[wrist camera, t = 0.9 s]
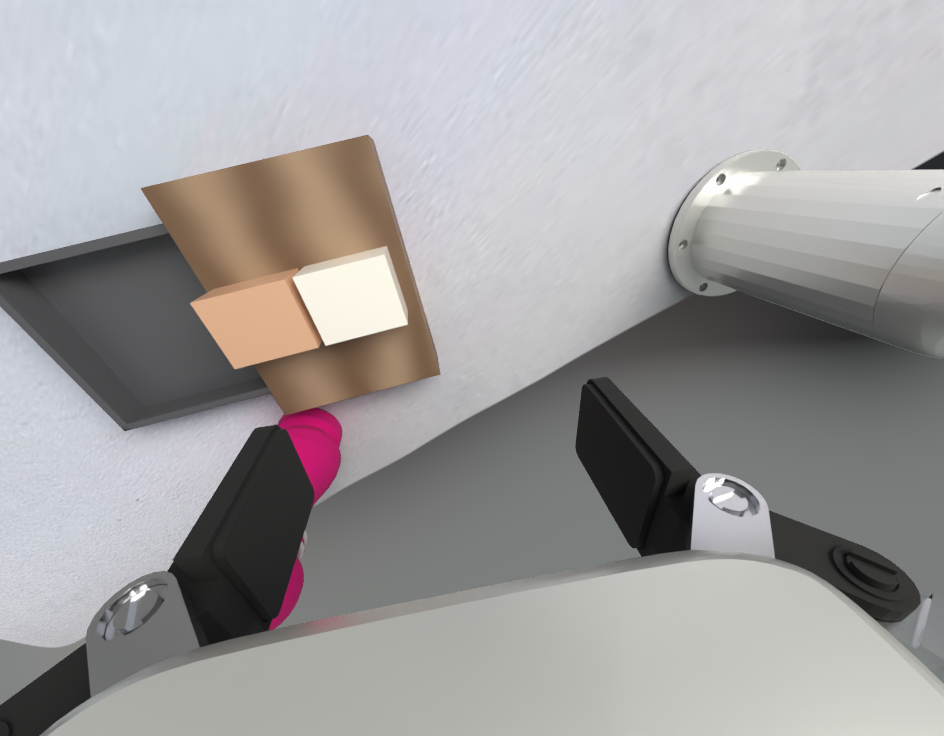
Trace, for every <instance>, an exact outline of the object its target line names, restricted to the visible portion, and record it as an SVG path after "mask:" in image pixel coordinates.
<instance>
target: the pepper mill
mask: <svg viewBox="0 0 944 736" xmlns="http://www.w3.org/2000/svg"><path fill="white" fill-rule="evenodd" d="M278 426H279V427H280V428H281V429H286V430H287V432H288V433H289V436H290V438H291V440H292V442H293V444H294V447H295V449H296V451H297V453H298V455H299V457H300V460H301V462H302V464H303V466H304V468H305V471H306V473H307V475H308V477H309V479H310V482H311V484H312V486H313V488H314V494H315V496H314V502H313V505H312V507H313V506H314V504H315V503H316V502H317V500H318V499H319V498H320V497H321V496H322V495H323V494H324V492H325V491H326V490H327V489H328V488H329V487H330V485H331V483H332V482H333V480H334V479H335V477H336V475H337V472H338V469H339V467H340V463H341V454H340V450H339V445H340V441H341V437H342V428H341V426H340V423H339V422H338V420H337V419H336V418H335V417H334V416H333V415H331V414H330V413H328V412H326V411H324V410H321V409H318V408H311V409H308V410H304V411H300V412H296V413H293V414H289V415H284V416H283V417H282V418H281V420H280V421H279V423H278ZM306 543H307V533H306V531H305V532H304V535H303V538H302V541H301V545H300V548H299V551H298V554H297V558H296V561H295V564H294V568H293V571H292V574H291V577H290V581H289V584H288V587H287V591H286V594H285V597H284V600H283V604H282V607H281V610H280V613H279V615H278V616H277V617H276V618H275V619H272V622H271V625H270V628H269V631H270V630H273V629H275V628H276V627H277V626H279V625H280V624H281V623H282V622H283V621H284V620H285V619H286V618H287V617H288V616H289V614H290V613H291V612H292V610H293V608H294V607H295V605H296V603H297V601H298V599H299V596H300V593H301V590H302V587H303V582H304V573H303V568H302V565H301V563H300V559H301V558H302V556H303V554H304V547H305V545H306Z"/></svg>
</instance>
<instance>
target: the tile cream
mask: <svg viewBox="0 0 944 736" xmlns="http://www.w3.org/2000/svg"><path fill="white" fill-rule="evenodd" d="M292 278H293V280H294V282H295V284H296V286H297V288H298V290H299V293H300V295H301V297H302V299H303V301H304V303H305V305H306V307H307V309H308V311H309V313H310V315H311V317H312V319H313V321H314V323H315V325H316V327H317V329H318V331H319V333H320V335H321V337H322V339H323V341H324V343H325V346H327V345H331V344H335V343H339V342H342V341H346V340H350V339H354V338H358V337H362V336H366V335H369V334H373V333H377V332H381V331H385V330H389V329H393V328H397V327H400V326H404V325H408V309H407V306H406V303H405V300H404V297H403V294H402V291H401V288H400V285H399V282H398V279H397V276H396V272H395V269H394V266H393V263H392V260H391V257H390V254H389V251H388V248H387V246H384V247H380V248H376V249H372V250H368V251H364V252H360V253H356V254H352V255H348V256H344V257H340V258H336V259H332V260H328V261H324V262H320V263H316V264H312V265H308V266H304V267H303V268H302V269H301V270H300V271H299V272H298V273H297V274H296V275H294V276H293V277H292Z"/></svg>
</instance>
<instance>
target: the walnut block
mask: <svg viewBox="0 0 944 736" xmlns="http://www.w3.org/2000/svg"><path fill="white" fill-rule="evenodd" d="M141 190H142V191H143V193H144V195H145V196H146V198H147V199H148V201H149V202H150V204H151V205H152V207H153V209H154V210H155V212H156V213H157V215H158V216H159V218H160V220H161V221H162V223H163V224H164V226H165V227H166V229H167V230H168V232H169V234H170V235H171V237H172V238H173V240H174V241H175V243H176V245H177V246H178V248H179V249H180V251H181V252H182V254H183V255H184V257H185V259H186V260H187V262H188V263H189V265H190V266H191V268H192V270H193V271H194V273H195V274H196V276H197V277H198V279H199V280H200V282H201V284H202V285H203V287H204V288H205V290H206V291H207V293H208V292H209V291H211V290H213V289H216V288H220V287H224V286H228V285H232V284H236V283H240V282H244V281H248V280H252V279H256V278H260V277H264V276H268V275H272V274H276V273H280V272H284V271H288V270H292V269H296V268H298V270H299V271H300V270H301V269H302V268H303V267H304V266H308V265H312V264H316V263H320V262H324V261H328V260H332V259H336V258H340V257H344V256H348V255H352V254H356V253H360V252H364V251H368V250H372V249H376V248H380V247H384V246H387V248H388V251H389V254H390V257H391V260H392V263H393V266H394V269H395V272H396V276H397V279H398V282H399V285H400V288H401V291H402V294H403V297H404V300H405V303H406V306H407V309H408V325H404V326H400V327H397V328H393V329H389V330H385V331H381V332H377V333H373V334H369V335H366V336H362V337H358V338H354V339H350V340H346V341H342V342H339V343H335V344H331V345H327V346H325V343H324V341H323V340H322V342H321V344H320V346H319V348H315V349H312V350H308V351H304V352H300V353H296V354H292V355H288V356H284V357H281V358H277V359H273V360H269V361H265V362H261V363H257V364H254V366H255V368H256V370H257V371H258V373H259V374H260V376H261V377H262V379H263V381H264V382H265V384H266V385H267V387H268V388H269V390H270V391H271V393H272V395H273V396H274V398H275V399H276V401H277V402H278V404H279V406H280V407H281V409H282V410H283V412H284V413H285V415H289V414H293V413H296V412H300V411H304V410H308V409H311V408H315V407H319V406H323V405H326V404H330V403H334V402H338V401H342V400H345V399H349V398H353V397H357V396H360V395H364V394H368V393H372V392H375V391H379V390H383V389H387V388H390V387H394V386H398V385H402V384H406V383H409V382H413V381H417V380H421V379H424V378H428V377H432V376H436V375H439V374H440V369H439V363H438V357H437V352H436V349H435V346H434V342H433V339H432V336H431V332H430V329H429V326H428V322H427V319H426V315H425V312H424V309H423V305H422V302H421V299H420V295H419V292H418V289H417V285H416V282H415V279H414V275H413V272H412V268H411V265H410V262H409V258H408V255H407V252H406V248H405V245H404V242H403V238H402V235H401V231H400V228H399V225H398V221H397V218H396V215H395V211H394V208H393V205H392V201H391V198H390V195H389V191H388V188H387V184H386V181H385V178H384V174H383V171H382V168H381V164H380V161H379V158H378V154H377V151H376V148H375V144H374V141H373V139H372V138H371V137H370V136H369V135H365V136H361V137H356V138H352V139H348V140H344V141H339V142H335V143H331V144H327V145H322V146H318V147H314V148H310V149H305V150H301V151H297V152H293V153H288V154H284V155H280V156H276V157H271V158H267V159H263V160H259V161H254V162H250V163H246V164H242V165H237V166H233V167H229V168H225V169H220V170H216V171H212V172H208V173H203V174H199V175H195V176H191V177H186V178H182V179H178V180H174V181H169V182H165V183H161V184H157V185H152V186H148V187H144V188H141Z"/></svg>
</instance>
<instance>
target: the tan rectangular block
mask: <svg viewBox="0 0 944 736" xmlns="http://www.w3.org/2000/svg"><path fill="white" fill-rule="evenodd" d="M298 272H299V270H298V268H296V269H292V270H288V271H284V272H280V273H276V274H272V275H268V276H264V277H260V278H256V279H252V280H248V281H244V282H240V283H236V284H232V285H228V286H224V287H220V288H216V289H213V290H211V291H209V292H208V293H206V294H204V295H203V296H201V297H199V298H198V299H196V300H194V301H193V302H191V303H190V304H191V306H192V307H193V309H194V310H195V312H196V313H197V314H198V316H199V317H200V319H201V320H202V322H203V323H204V325H205V326H206V328H207V329H208V331H209V332H210V334H211V335H212V337H213V338H214V339H215V341H216V342H217V344H218V345H219V347H220V348H221V350H222V351H223V353H224V354H225V356H226V357H227V359H228V360H229V362H230V363H231V364H232V366H233V367H234V369H238V368H242V367H246V366H250V365H254V364H257V363H261V362H265V361H269V360H273V359H277V358H281V357H284V356H288V355H292V354H296V353H300V352H304V351H308V350H312V349H315V348H319V346H320V344H321V342H322V340H323V339H322V337H321V335H320V333H319V331H318V329H317V327H316V325H315V323H314V321H313V319H312V317H311V315H310V313H309V311H308V309H307V307H306V305H305V303H304V301H303V299H302V297H301V295H300V293H299V290H298V288H297V286H296V284H295V282H294V280H293V278H292V277H293V276H294V275H296V274H297V273H298Z"/></svg>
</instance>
